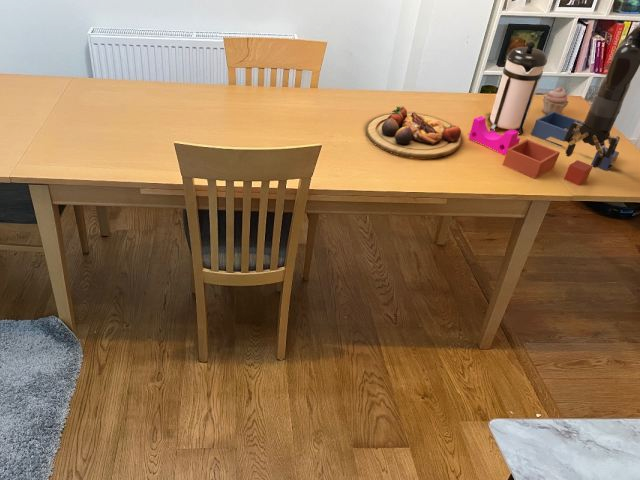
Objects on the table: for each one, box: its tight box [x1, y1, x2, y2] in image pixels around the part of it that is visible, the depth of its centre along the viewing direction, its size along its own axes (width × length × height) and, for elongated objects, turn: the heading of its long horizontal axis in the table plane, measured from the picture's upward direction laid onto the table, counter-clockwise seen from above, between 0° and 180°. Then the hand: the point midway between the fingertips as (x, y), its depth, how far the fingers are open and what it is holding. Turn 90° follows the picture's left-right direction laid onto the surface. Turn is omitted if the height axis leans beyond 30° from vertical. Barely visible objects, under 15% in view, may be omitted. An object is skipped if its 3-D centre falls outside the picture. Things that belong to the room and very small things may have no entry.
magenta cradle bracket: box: [468, 115, 521, 156], centre depth 199 cm, size 15×6×8 cm, turn 37°
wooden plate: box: [366, 106, 462, 159], centre depth 201 cm, size 32×32×8 cm
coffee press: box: [488, 41, 548, 136], centre depth 204 cm, size 17×16×30 cm
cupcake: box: [542, 86, 570, 115], centre depth 220 cm, size 9×9×10 cm
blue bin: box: [530, 112, 584, 147], centre depth 206 cm, size 12×12×6 cm
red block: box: [563, 159, 594, 186], centre depth 183 cm, size 5×5×5 cm
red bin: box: [502, 138, 561, 180], centre depth 188 cm, size 12×12×6 cm
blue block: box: [590, 147, 620, 171], centre depth 190 cm, size 5×5×5 cm
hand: (581, 161), depth 180 cm, fingers open, 8 cm apart
